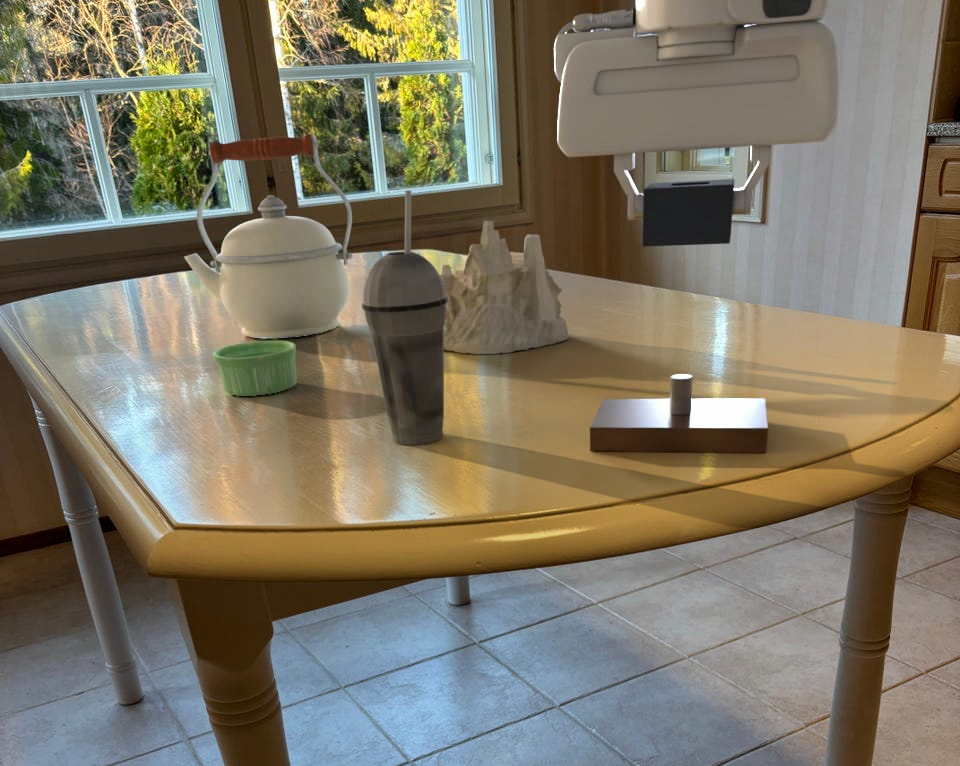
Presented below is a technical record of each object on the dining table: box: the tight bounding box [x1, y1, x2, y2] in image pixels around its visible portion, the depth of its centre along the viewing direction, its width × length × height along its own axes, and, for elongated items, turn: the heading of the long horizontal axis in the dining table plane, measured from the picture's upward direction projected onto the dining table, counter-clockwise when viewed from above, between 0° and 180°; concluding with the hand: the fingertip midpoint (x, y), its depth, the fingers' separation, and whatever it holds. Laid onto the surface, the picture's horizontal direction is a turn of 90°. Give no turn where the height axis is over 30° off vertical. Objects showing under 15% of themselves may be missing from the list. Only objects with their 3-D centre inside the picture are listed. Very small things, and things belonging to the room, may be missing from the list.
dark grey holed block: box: [641, 178, 735, 248], centre depth 72 cm, size 6×6×4 cm
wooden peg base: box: [589, 373, 769, 454], centre depth 78 cm, size 14×9×5 cm, turn 76°
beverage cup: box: [361, 190, 448, 446], centre depth 79 cm, size 7×7×20 cm
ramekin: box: [212, 340, 298, 397], centre depth 103 cm, size 9×9×4 cm
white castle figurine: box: [439, 220, 570, 356], centre depth 116 cm, size 16×16×15 cm
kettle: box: [183, 133, 353, 338], centre depth 130 cm, size 25×18×25 cm
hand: (689, 216), depth 72 cm, fingers closed on dark grey holed block, 6 cm apart
